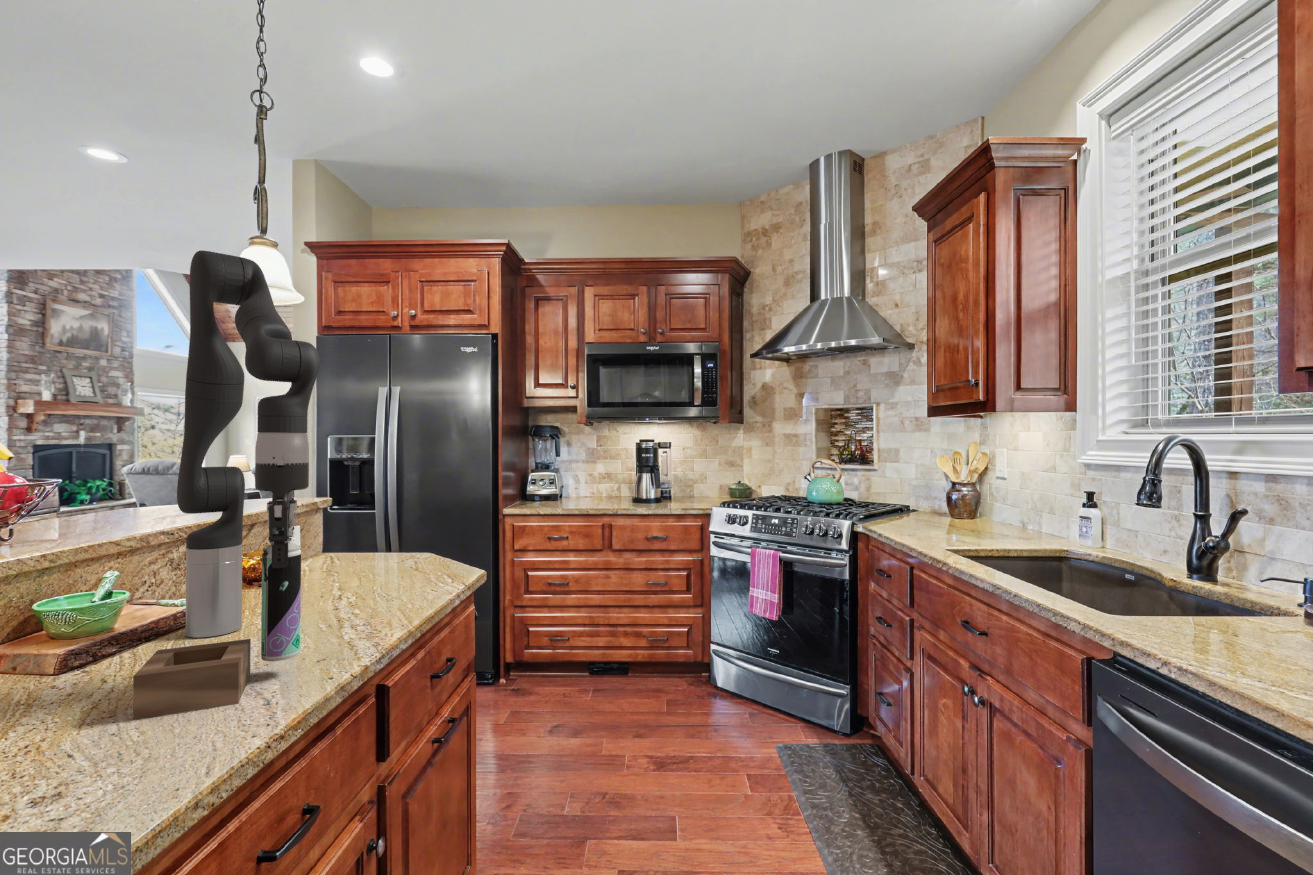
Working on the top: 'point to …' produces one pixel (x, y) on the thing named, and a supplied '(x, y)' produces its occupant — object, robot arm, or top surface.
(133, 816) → the top surface
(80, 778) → the top surface
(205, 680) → the walnut holder
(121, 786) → the top surface
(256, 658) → the top surface
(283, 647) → the spray can
